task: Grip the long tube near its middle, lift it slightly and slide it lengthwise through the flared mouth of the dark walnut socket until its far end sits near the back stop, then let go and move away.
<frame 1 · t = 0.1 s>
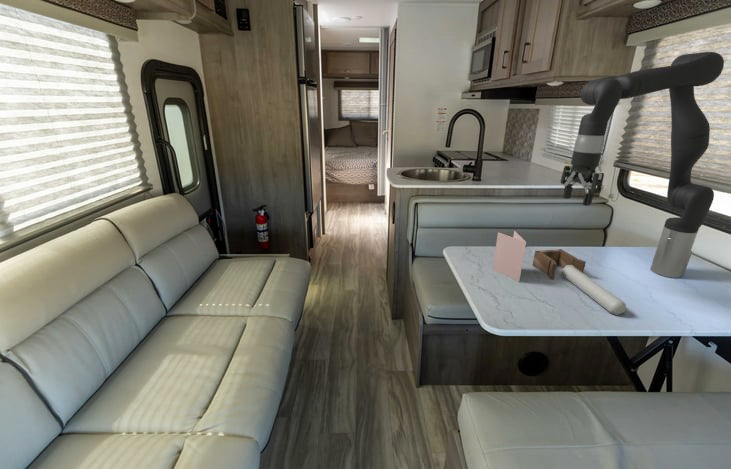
hand: (576, 201, 114), 29 cm above the table, tool pointing down, fingers open, 8 cm apart
greeting card: (505, 274, 130), on the table
socket block: (553, 269, 134), on the table
tube: (590, 296, 117), on the table
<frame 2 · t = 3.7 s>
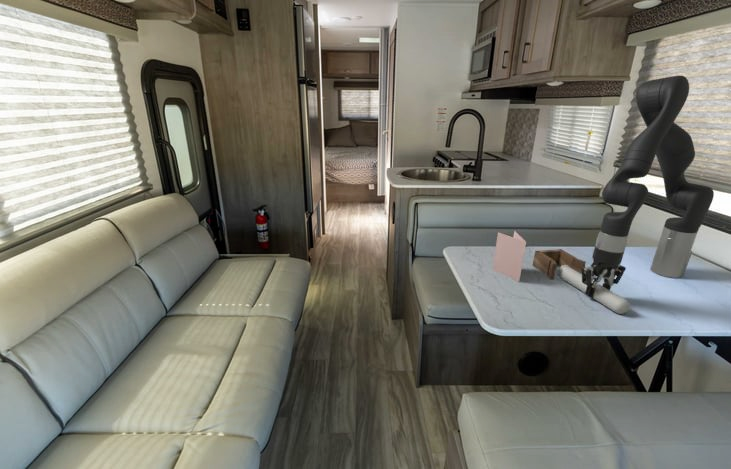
hand: (596, 295, 114), 1 cm above the table, tool pointing down, fingers closed on tube, 4 cm apart
tube: (590, 295, 117), on the table, touching gripper
everything else where it was.
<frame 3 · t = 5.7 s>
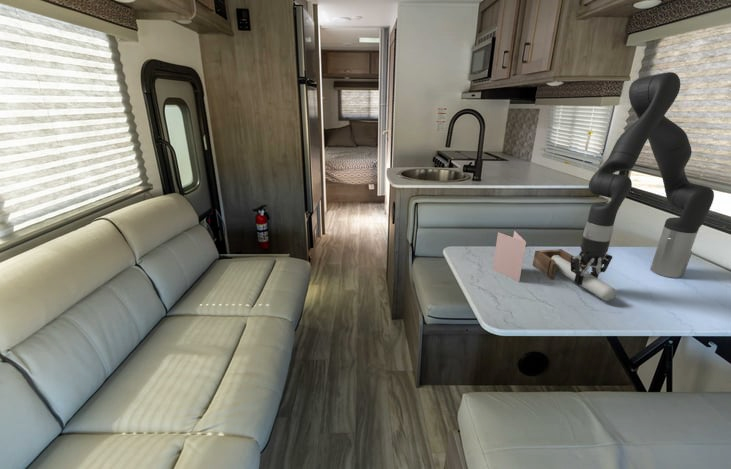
hand: (584, 283, 119), 2 cm above the table, tool pointing down, fingers closed on tube, 4 cm apart
tube: (579, 283, 122), point 1 cm above the table, touching gripper
everything else where it was.
when the fingers open (1 cm above the table, at t = 7.9 s): tube stays where it is, on the table.
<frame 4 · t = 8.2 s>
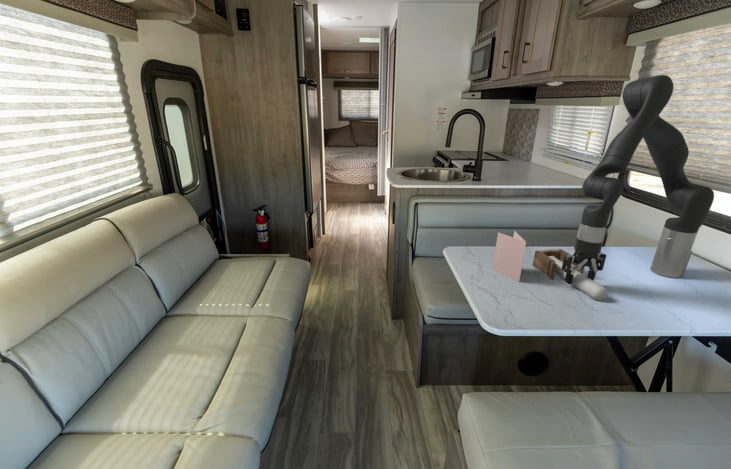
hand: (578, 282, 122), 1 cm above the table, tool pointing down, fingers open, 7 cm apart
tube: (572, 284, 124), on the table
everything else where it was.
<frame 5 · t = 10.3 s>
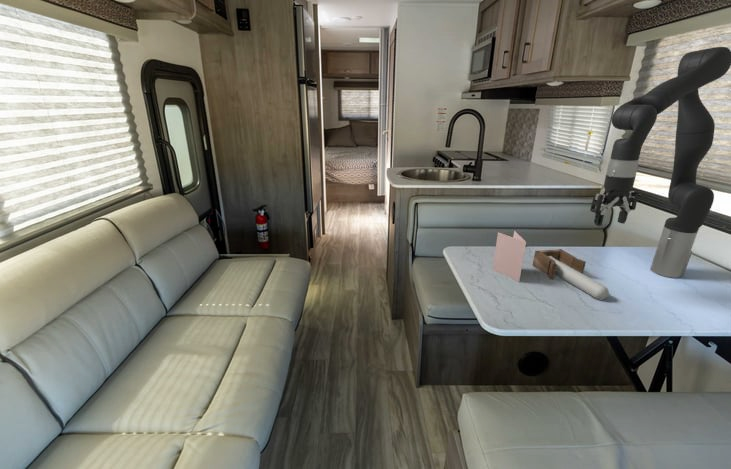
hand: (609, 224, 115), 22 cm above the table, tool pointing down, fingers open, 8 cm apart
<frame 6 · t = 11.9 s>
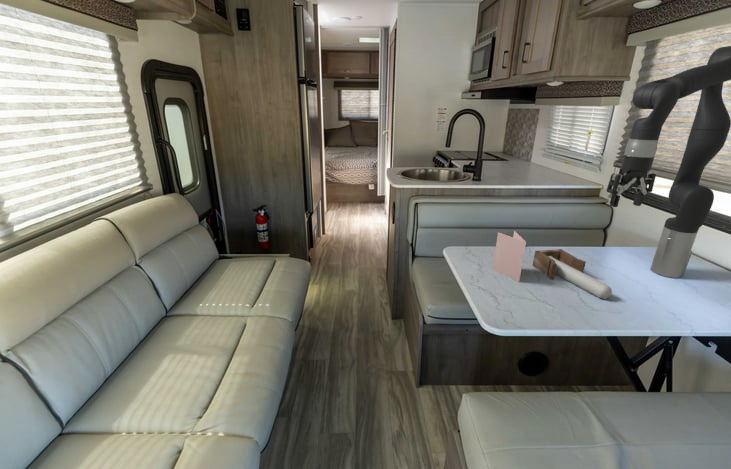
hand: (625, 205, 114), 28 cm above the table, tool pointing down, fingers open, 8 cm apart
at the end: tube 0.7 cm from the target spot, on the table; the gripper is holding nothing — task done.
